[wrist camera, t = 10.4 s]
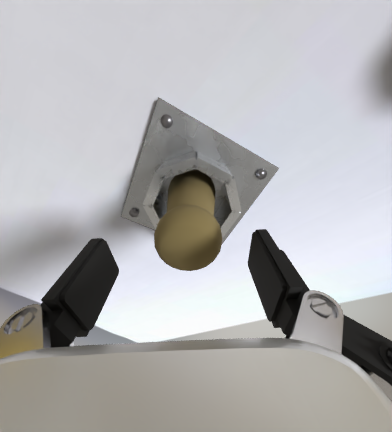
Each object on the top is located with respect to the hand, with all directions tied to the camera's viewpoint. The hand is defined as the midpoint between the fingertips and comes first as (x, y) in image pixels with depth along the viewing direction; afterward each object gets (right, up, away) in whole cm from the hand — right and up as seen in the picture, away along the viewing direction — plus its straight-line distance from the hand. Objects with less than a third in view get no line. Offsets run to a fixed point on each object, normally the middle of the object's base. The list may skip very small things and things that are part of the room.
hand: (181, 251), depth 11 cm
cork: (0, +5, +10) cm, 12 cm away
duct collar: (+1, +5, +11) cm, 12 cm away
